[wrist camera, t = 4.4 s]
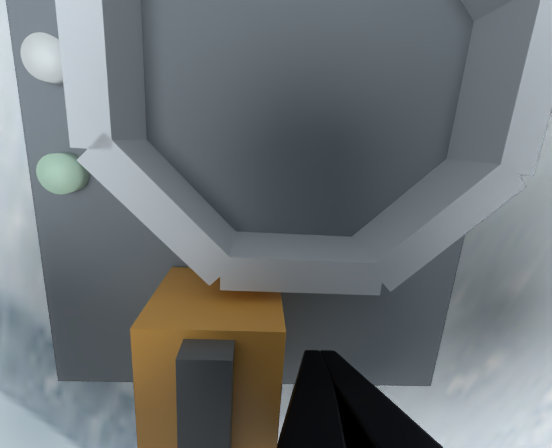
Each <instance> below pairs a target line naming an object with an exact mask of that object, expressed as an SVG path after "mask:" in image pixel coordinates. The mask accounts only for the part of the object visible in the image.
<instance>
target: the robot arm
mask: <svg viewBox="0 0 552 448" xmlns="http://www.w3.org/2000/svg"><path fill="white" fill-rule="evenodd" d="M276 448H443V447H442V446H441V445H440V444H439V443H438V442H437V441H436V440H434V439H433V438H432V437H431V436H430V435H429V434H428V433H427V432H425V431H424V430H423V429H422V428H421V427H420V426H419V425H418V424H417V423H415V422H414V421H413V420H412V419H411V418H410V417H409V416H408V415H406V414H405V413H404V412H403V411H402V410H401V409H400V408H399V407H398V406H396V405H395V404H394V403H393V402H392V401H391V400H390V399H389V398H388V397H386V396H385V395H384V394H383V393H382V392H381V391H380V390H379V389H377V388H376V387H375V386H374V385H373V384H372V383H371V382H370V381H369V380H367V379H366V378H365V377H364V376H363V375H362V374H361V373H360V372H358V371H357V370H356V369H355V368H354V367H353V366H352V365H351V364H350V363H348V362H347V361H346V360H345V359H344V358H343V357H342V356H341V355H339V354H338V353H337V352H336V351H334V350H320V351H319V350H305V351H304V353H303V357H302V360H301V364H300V367H299V371H298V374H297V378H296V381H295V385H294V388H293V392H292V395H291V399H290V402H289V406H288V409H287V413H286V416H285V420H284V423H283V427H282V430H281V433H280V437H279V440H278V444H277V447H276Z"/></svg>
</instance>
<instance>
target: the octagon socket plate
mask: <svg viewBox="0 0 552 448" xmlns="http://www.w3.org/2000/svg"><path fill="white" fill-rule="evenodd" d="M6 6H7V13H8V20H9V27H10V35H11V42H12V49H13V57H14V64H15V71H16V78H17V86H18V93H19V100H20V107H21V115H22V122H23V129H24V136H25V144H26V151H27V158H28V166H29V173H30V180H31V187H32V195H33V202H34V209H35V216H36V224H37V231H38V238H39V245H40V253H41V260H42V267H43V275H44V282H45V289H46V296H47V304H48V311H49V318H50V325H51V333H52V340H53V347H54V354H55V362H56V369H57V376H58V381H104V382H133V367H132V352H131V336H130V328H131V326H132V325H133V323H134V322H135V320H136V319H137V317H138V316H139V314H140V313H141V312H142V310H143V309H144V307H145V306H146V304H147V303H148V301H149V300H150V298H151V297H152V295H153V294H154V292H155V291H156V289H157V288H158V287H159V285H160V284H161V282H162V281H163V279H164V278H165V276H166V275H167V273H168V272H169V270H170V269H171V267H188V268H191V269H192V270H193V271H194V272H195V273H196V274H197V275H198V276H199V277H200V278H202V279H203V280H204V281H205V282H206V283H207V284H208V285H209V286H210V285H211V284H212V283H213V282H214V281H216V280H217V279H218V278H219V277H220V290H229V291H259V292H281V299H282V306H283V313H284V320H285V327H286V341H285V353H284V366H283V378H282V384H295V381H296V378H297V374H298V371H299V367H300V364H301V360H302V357H303V353H304V351H305V350H319V351H320V350H334V351H336V352H337V353H338V354H339V355H341V356H342V357H343V358H344V359H345V360H346V361H347V362H348V363H350V364H351V365H352V366H353V367H354V368H355V369H356V370H357V371H358V372H360V373H361V374H362V375H363V376H364V377H365V378H366V379H367V380H369V381H370V382H371V383H372V384H373V385H398V386H431V382H432V377H433V373H434V368H435V364H436V360H437V355H438V351H439V346H440V342H441V338H442V333H443V329H444V324H445V320H446V316H447V311H448V307H449V302H450V298H451V293H452V289H453V285H454V280H455V276H456V271H457V267H458V263H459V258H460V254H461V249H462V245H463V240H464V236H465V234H466V233H467V232H468V231H470V230H471V229H472V228H473V227H475V226H476V225H477V224H479V223H480V222H481V221H482V220H484V219H485V218H486V217H488V216H489V215H490V214H491V213H493V212H494V211H495V210H497V209H498V208H499V207H501V206H502V205H503V204H504V203H506V202H507V201H508V200H510V199H511V198H512V197H513V196H515V195H516V194H517V193H519V192H520V191H521V190H522V189H524V188H525V187H526V185H525V183H524V182H523V180H522V179H521V177H520V176H519V175H530V176H534V173H535V169H536V165H537V162H538V158H539V154H540V151H541V147H542V143H543V140H544V136H545V132H546V129H547V125H548V121H549V118H550V114H551V110H552V0H6Z"/></svg>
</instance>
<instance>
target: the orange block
mask: <svg viewBox="0 0 552 448" xmlns="http://www.w3.org/2000/svg"><path fill="white" fill-rule="evenodd" d="M130 336H131V352H132V367H133V383H134V398H135V414H136V429H137V445H138V448H276V447H277V440H278V428H279V415H280V403H281V391H282V378H283V366H284V353H285V341H286V327H285V320H284V313H283V306H282V299H281V292H259V291H229V290H220V277H219V278H218V279H217V280H216V281H214V282H213V283H212V284H211V285H210V286H209V285H208V284H207V283H206V282H205V281H204V280H203V279H202V278H200V277H199V276H198V275H197V274H196V273H195V272H194V271H193V270H192V269H191V268H188V267H171V269H170V270H169V272H168V273H167V275H166V276H165V278H164V279H163V281H162V282H161V284H160V285H159V287H158V288H157V289H156V291H155V292H154V294H153V295H152V297H151V298H150V300H149V301H148V303H147V304H146V306H145V307H144V309H143V310H142V312H141V313H140V314H139V316H138V317H137V319H136V320H135V322H134V323H133V325H132V326H131V328H130Z"/></svg>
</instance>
